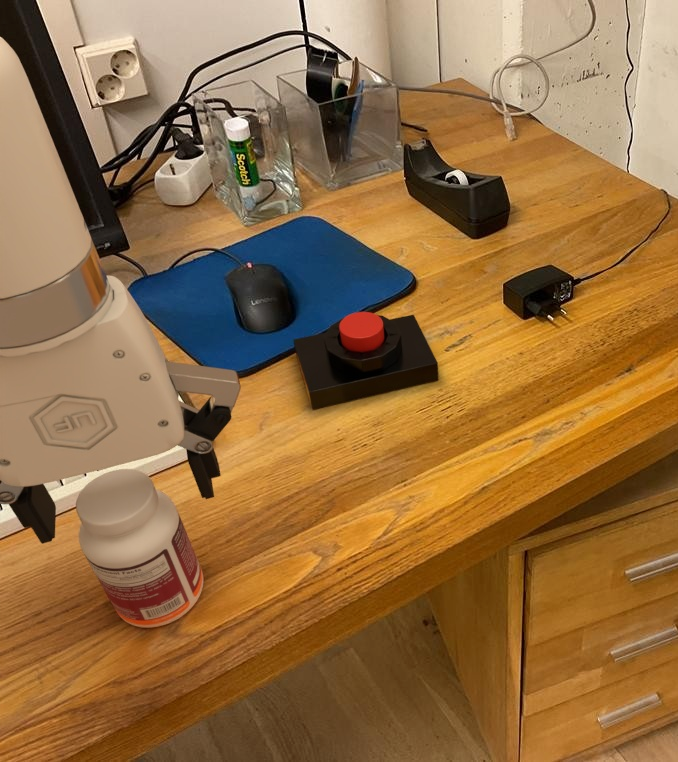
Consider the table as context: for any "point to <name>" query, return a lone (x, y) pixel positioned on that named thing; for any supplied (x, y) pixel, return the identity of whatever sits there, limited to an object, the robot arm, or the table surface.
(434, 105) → the table surface
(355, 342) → the button
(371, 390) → the button box
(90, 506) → the pill bottle
